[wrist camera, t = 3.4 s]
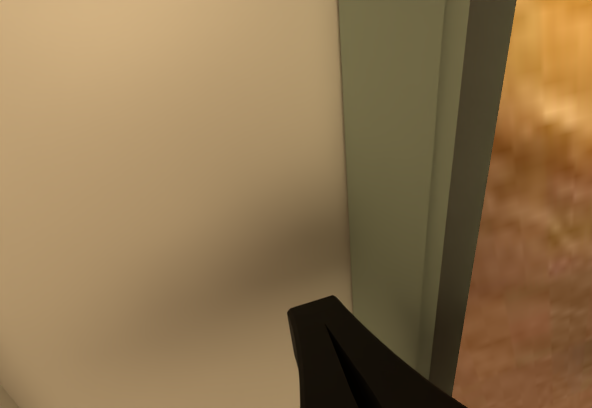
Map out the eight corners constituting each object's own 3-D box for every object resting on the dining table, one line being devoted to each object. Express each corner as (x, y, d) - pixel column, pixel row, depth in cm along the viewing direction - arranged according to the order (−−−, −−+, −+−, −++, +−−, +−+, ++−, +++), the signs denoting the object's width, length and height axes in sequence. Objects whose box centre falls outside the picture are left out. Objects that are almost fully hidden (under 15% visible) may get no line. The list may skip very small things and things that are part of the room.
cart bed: (358, 385, 22) (413, 496, 17) (80, 485, 19) (58, 648, 15) (335, -163, 10) (491, -262, 5) (-408, -103, 7) (-1327, -202, 3)
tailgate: (372, 395, 20) (432, 512, 15) (357, 401, 19) (413, 520, 15) (367, -89, 9) (536, -124, 5) (334, -84, 9) (482, -117, 5)
